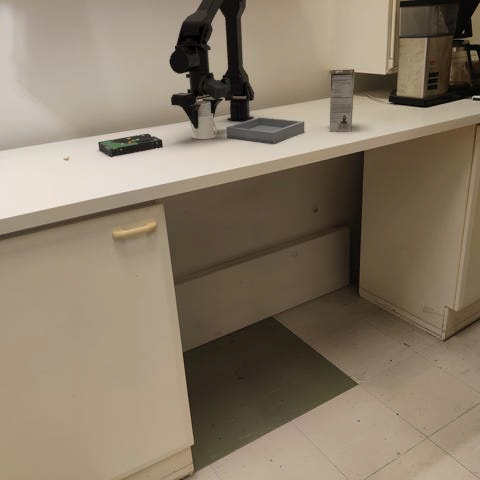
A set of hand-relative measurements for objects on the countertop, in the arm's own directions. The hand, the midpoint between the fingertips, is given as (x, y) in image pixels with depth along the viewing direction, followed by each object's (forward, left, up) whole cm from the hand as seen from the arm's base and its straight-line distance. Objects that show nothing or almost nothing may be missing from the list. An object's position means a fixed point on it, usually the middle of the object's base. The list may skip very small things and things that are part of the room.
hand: (203, 126), depth 139 cm
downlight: (0, 0, -3) cm, 3 cm away
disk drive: (+20, -9, -4) cm, 22 cm away
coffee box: (-27, +30, -3) cm, 40 cm away
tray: (-10, +15, -3) cm, 18 cm away
